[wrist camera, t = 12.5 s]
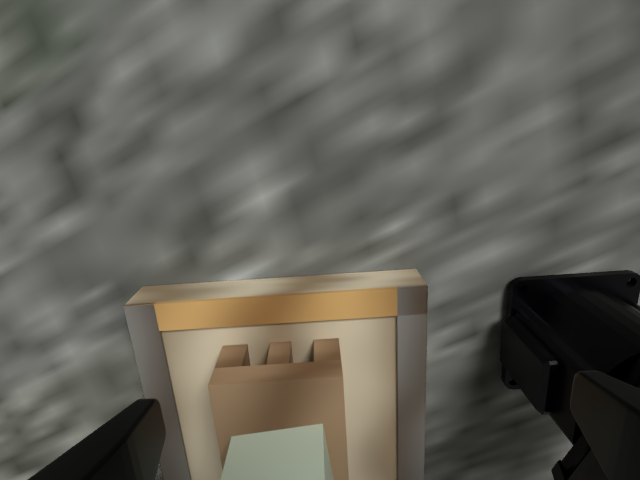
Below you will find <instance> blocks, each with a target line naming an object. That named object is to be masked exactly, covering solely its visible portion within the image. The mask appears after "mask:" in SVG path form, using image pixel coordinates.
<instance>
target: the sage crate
mask: <svg viewBox="0 0 640 480" xmlns="http://www.w3.org/2000/svg"><path fill="white" fill-rule="evenodd" d="M221 480H333V474H332V469H331V464H330V459H329V453H328V448H327V443H326V438H325V432H324V427H323V424H316V425H309V426H302V427H295V428H288V429H281V430H273V431H266V432H259V433H252V434H245V435H238V436H231V440H230V444H229V448H228V452H227V456H226V460H225V464H224V468H223V472H222V476H221Z"/></svg>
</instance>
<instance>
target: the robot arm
mask: <svg viewBox="0 0 640 480" xmlns="http://www.w3.org/2000/svg"><path fill="white" fill-rule="evenodd" d="M630 278H631V280H630V282H628V283H627V281H628V280H629V279H630ZM521 285H524V287H523V289H522V290H520V291H518V287H519V286H521ZM639 293H640V275H638V274H637V273H635V272H633V271H629V270H624V271H608V272H593V273H578V274H562V275H547V276H531V277H519V278H515V279H514V280H512V282H511V283H510V286H509V295H508V307H507V317H505V319H504V320H503V326H502V338H501V350H500V362H501V363H502V364H503V365H502V377H501V378H502V381H503V383H504V384H505V386H506V387H507V388H509V389H521V390H522V391H523V392H524V394H525V395H526V396H527V398H528V399H529V400H530V402H531V403H532V404H533V406H534V407H535V409H536V410H537V411H539V412H540V413H541V414H549V415H550V416H551V417H552V419H553V420H554V421H555V422H556V424H557V425H558V426H559V428H560V429H561V430H562V431H563V433H564V434H565V435H566V437H567V438H568V439H569V440H570V442H571V443H572V444H573V447H572V448H571V449H570V451H569V452H568V453H567V455H566V456H565V457H564V459H563V460H562V461H561V460H559V461H558V462H557V463H556V464H555V466H554V467H553V468H552V474H553V477H554V480H640V306H639V305H637V303H638V298H639ZM512 378H513V380H512V381H510V379H512ZM165 438H166V428H165V423H164V419H163V414H162V410H161V405H160V402H159V400H158V399H156V398H149V399H139V400H137V401H135V402H134V403H132V404H131V405H130V406H128V407H127V408H125V409H124V410H123V411H121V412H120V413H119V414H117V415H116V416H114V417H113V418H112V419H110V420H109V421H108V422H106V423H105V424H103V425H102V426H101V427H99V428H98V429H97V430H95V431H94V432H93V433H91V434H90V435H88V436H87V437H86V438H84V439H83V440H82V441H80V442H79V443H77V444H76V445H75V446H73V447H72V448H71V449H69V450H68V451H66V452H65V453H64V454H62V455H61V456H60V457H58V458H57V459H55V460H54V461H53V462H51V463H50V464H49V465H47V466H46V467H44V468H43V469H42V470H40V471H39V472H38V473H36V474H35V475H34V476H32V477H31V478H29V479H28V480H155V477H156V473H157V469H158V466H159V462H160V458H161V454H162V450H163V447H164V443H165Z"/></svg>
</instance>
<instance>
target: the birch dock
mask: <svg viewBox="0 0 640 480" xmlns="http://www.w3.org/2000/svg"><path fill="white" fill-rule="evenodd" d="M427 300H428V286H427V285H426V283H425V282H424V280H423V279H422V277H421V275H420V274H419V272H418V271H417V269H405V270H390V271H375V272H359V273H344V274H328V275H313V276H298V277H282V278H267V279H251V280H236V281H220V282H205V283H190V284H174V285H159V286H143V287H141V289H140V290H139V291H138V292H137V293H136V294H135V295H134V296H133V297H132V298H131V299H130V300H129V301H128V302H127V303H126V304H125V305H124V306H123V307H124V311H125V315H126V320H127V324H128V328H129V333H130V337H131V341H132V345H133V350H134V354H135V358H136V363H137V367H138V371H139V376H140V380H141V384H142V389H143V393H144V397H145V399H149V398H156V399H158V400H159V402H160V405H161V410H162V414H163V419H164V423H165V428H166V438H165V443H164V447H163V450H162V454H161V458H160V466H161V471H162V475H163V479H164V480H221V476H222V472H223V470H222V465H221V459H220V453H219V447H218V442H217V436H216V430H215V425H214V419H213V413H212V408H211V402H210V396H209V391H208V383H209V381H210V378H211V376H212V373H213V370H214V368H215V365H216V362H217V360H218V357H219V354H220V352H221V349H222V347H223V346H226V345H241V344H248V350H249V358H250V365H251V366H254V365H266V364H267V358H268V353H269V347H270V343H271V342H286V341H291V346H292V356H293V363H300V362H314V340H317V339H332V338H339V345H340V354H341V363H342V372H343V384H344V402H345V420H346V438H347V456H348V474H349V480H424V458H425V405H426V353H427Z"/></svg>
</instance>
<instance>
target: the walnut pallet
mask: <svg viewBox="0 0 640 480" xmlns="http://www.w3.org/2000/svg"><path fill="white" fill-rule="evenodd" d="M208 391H209V396H210V402H211V408H212V413H213V419H214V425H215V430H216V436H217V442H218V447H219V453H220V459H221V465H222V470H223V468H224V464H225V460H226V456H227V452H228V448H229V444H230V440H231V436H238V435H245V434H252V433H259V432H266V431H273V430H281V429H288V428H295V427H302V426H309V425H316V424H323V427H324V432H325V438H326V443H327V448H328V453H329V459H330V464H331V469H332V474H333V480H349V474H348V456H347V438H346V420H345V402H344V384H343V372H342V363H341V354H340V345H339V338H332V339H317V340H314V362H300V363H293V356H292V346H291V341H286V342H271V343H270V347H269V353H268V358H267V364H266V365H254V366H251V365H250V358H249V350H248V344H241V345H226V346H223V347H222V349H221V352H220V354H219V357H218V360H217V362H216V365H215V368H214V370H213V373H212V376H211V378H210V381H209V383H208Z"/></svg>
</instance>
